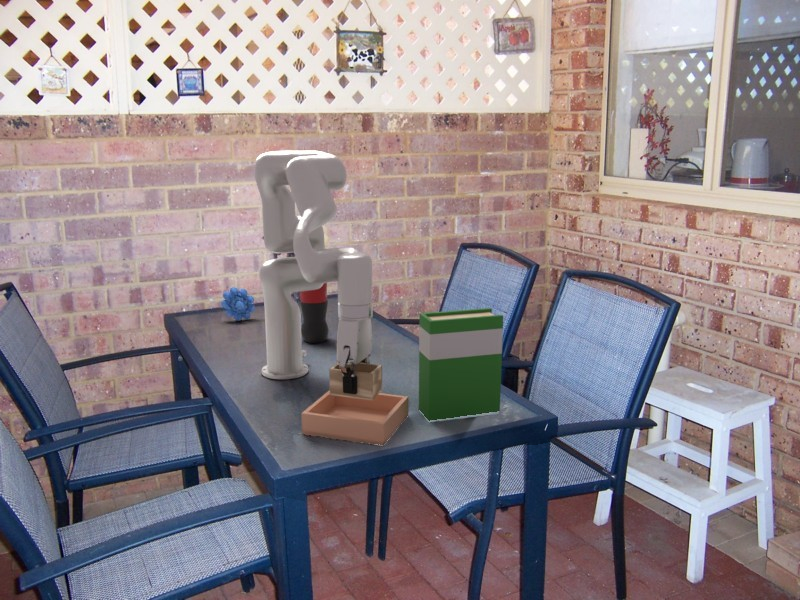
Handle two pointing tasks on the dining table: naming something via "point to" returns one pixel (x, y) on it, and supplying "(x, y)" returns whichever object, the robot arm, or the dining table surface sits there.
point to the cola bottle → (314, 315)
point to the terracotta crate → (355, 417)
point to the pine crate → (358, 381)
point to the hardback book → (459, 363)
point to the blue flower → (238, 304)
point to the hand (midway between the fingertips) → (356, 387)
